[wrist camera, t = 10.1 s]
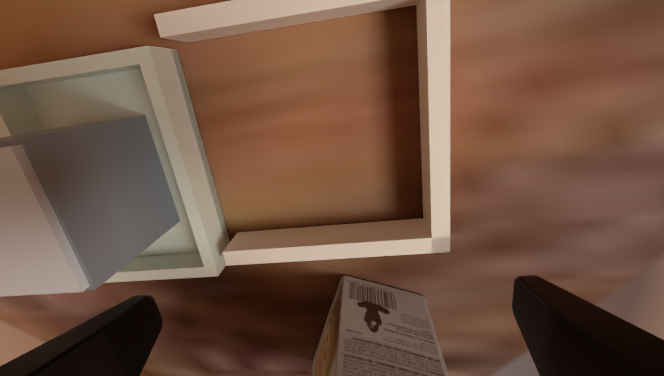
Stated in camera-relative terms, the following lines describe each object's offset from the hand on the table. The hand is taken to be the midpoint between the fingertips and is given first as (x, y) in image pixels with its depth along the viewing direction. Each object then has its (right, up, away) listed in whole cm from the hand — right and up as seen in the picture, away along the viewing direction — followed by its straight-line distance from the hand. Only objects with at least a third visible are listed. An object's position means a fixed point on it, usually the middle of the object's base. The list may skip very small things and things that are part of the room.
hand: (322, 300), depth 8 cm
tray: (-13, +4, +13) cm, 18 cm away
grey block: (-13, +4, +12) cm, 18 cm away
